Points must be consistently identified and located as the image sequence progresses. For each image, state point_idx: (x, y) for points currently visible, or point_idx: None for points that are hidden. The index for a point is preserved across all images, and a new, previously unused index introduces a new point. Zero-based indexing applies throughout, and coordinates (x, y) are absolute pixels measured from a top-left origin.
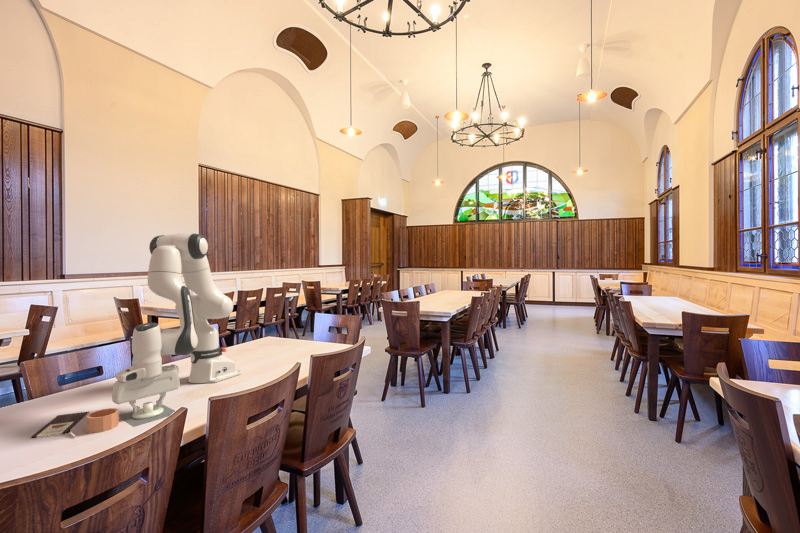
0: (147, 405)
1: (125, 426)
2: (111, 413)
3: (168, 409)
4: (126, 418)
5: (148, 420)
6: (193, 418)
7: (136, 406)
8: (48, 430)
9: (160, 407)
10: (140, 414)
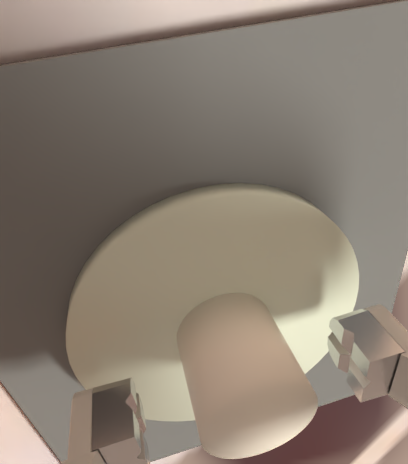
0: (235, 448)
1: (16, 439)
2: None
3: (377, 291)
4: (4, 322)
5: (182, 431)
6: (364, 451)
7: (115, 457)
8: None
9: (353, 271)
10: (147, 364)
